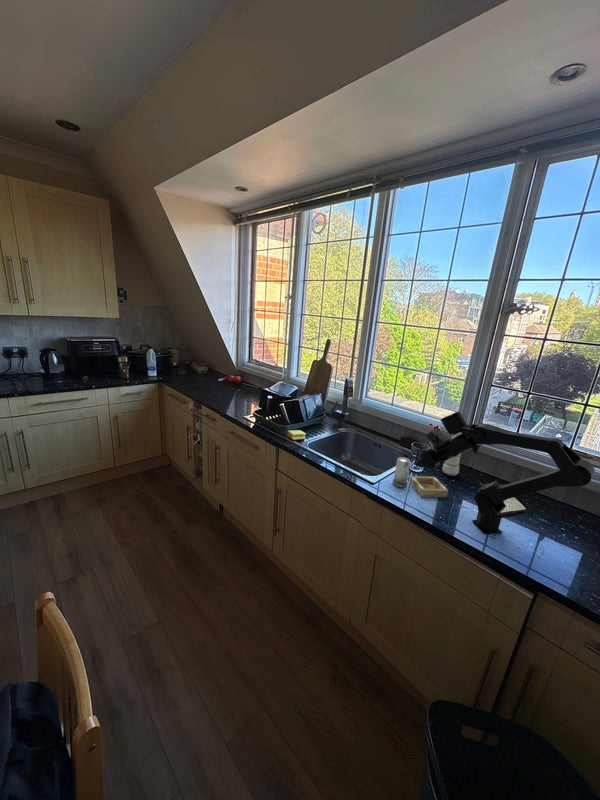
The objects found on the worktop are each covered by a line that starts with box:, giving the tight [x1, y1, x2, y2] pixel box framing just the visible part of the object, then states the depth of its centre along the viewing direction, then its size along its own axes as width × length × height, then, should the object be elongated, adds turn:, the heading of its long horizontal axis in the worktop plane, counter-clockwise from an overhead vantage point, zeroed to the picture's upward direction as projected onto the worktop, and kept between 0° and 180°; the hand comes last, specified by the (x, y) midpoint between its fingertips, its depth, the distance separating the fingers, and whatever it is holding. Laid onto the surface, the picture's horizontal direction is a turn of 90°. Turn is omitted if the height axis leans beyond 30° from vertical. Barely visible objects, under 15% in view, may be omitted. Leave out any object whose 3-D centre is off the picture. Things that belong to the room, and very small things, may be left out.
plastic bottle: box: [442, 432, 462, 477], centre depth 140 cm, size 6×7×20 cm
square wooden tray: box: [409, 476, 449, 498], centre depth 128 cm, size 10×10×3 cm
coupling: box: [392, 456, 411, 489], centre depth 129 cm, size 7×6×11 cm
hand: (422, 462), depth 122 cm, fingers open, 9 cm apart
